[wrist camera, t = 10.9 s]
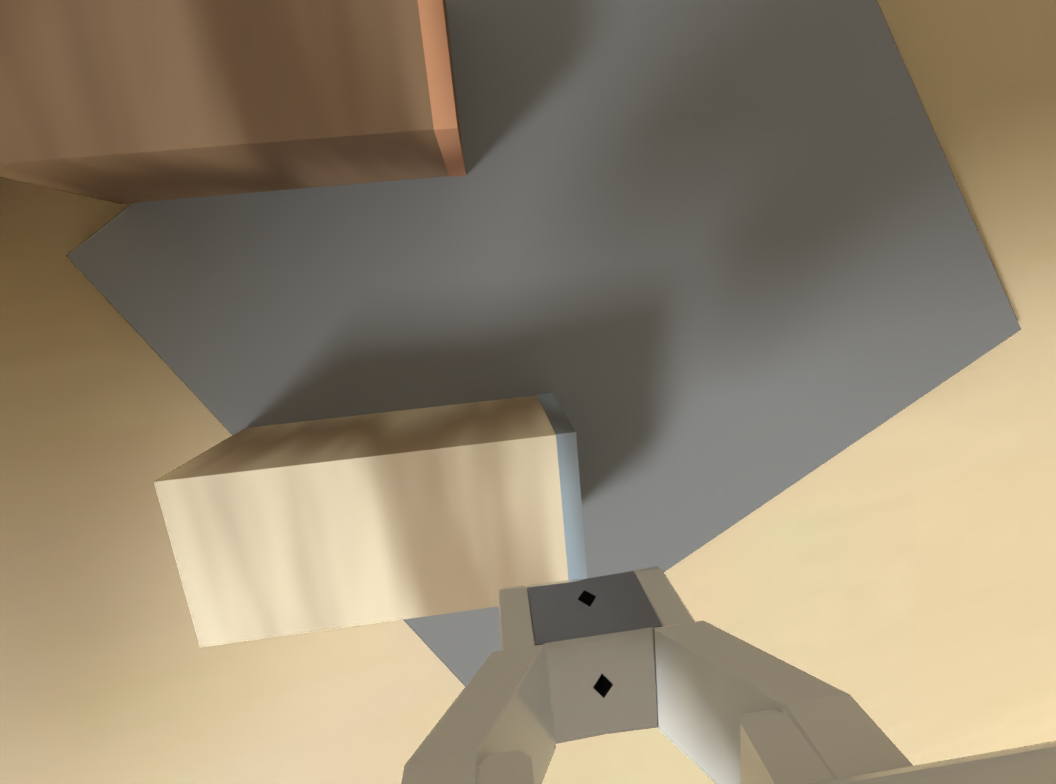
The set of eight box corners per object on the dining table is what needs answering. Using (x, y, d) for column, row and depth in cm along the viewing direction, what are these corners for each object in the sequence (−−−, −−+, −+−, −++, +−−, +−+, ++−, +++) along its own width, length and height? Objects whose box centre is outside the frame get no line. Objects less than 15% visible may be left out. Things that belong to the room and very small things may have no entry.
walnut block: (427, -130, 9) (-132, -103, 9) (457, 128, 10) (-44, 167, 10) (446, 3, 14) (74, 26, 13) (465, 175, 15) (120, 204, 14)
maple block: (576, 431, 12) (152, 481, 11) (588, 595, 13) (199, 648, 12) (551, 392, 16) (245, 426, 16) (562, 517, 17) (274, 553, 17)
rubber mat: (477, 690, 19) (476, 699, 19) (76, 256, 15) (65, 255, 14) (1009, 328, 18) (1020, 329, 17) (744, -266, 13) (752, -283, 13)
